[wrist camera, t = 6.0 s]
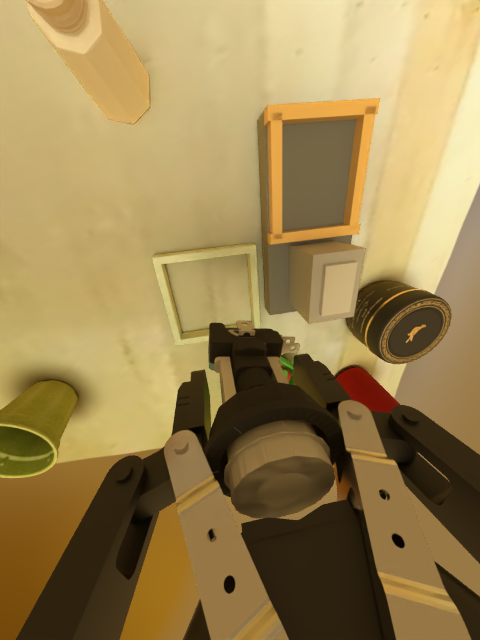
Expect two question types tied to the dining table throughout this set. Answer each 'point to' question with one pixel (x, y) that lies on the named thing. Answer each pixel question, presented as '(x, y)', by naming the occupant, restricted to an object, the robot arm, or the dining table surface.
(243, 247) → the parts tray
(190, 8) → the dining table surface
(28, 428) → the plant pot
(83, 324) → the dining table surface
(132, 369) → the dining table surface
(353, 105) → the gray stepped base block
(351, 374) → the beverage can
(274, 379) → the black and tan cylinder
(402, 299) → the jar
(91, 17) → the pepper shaker
